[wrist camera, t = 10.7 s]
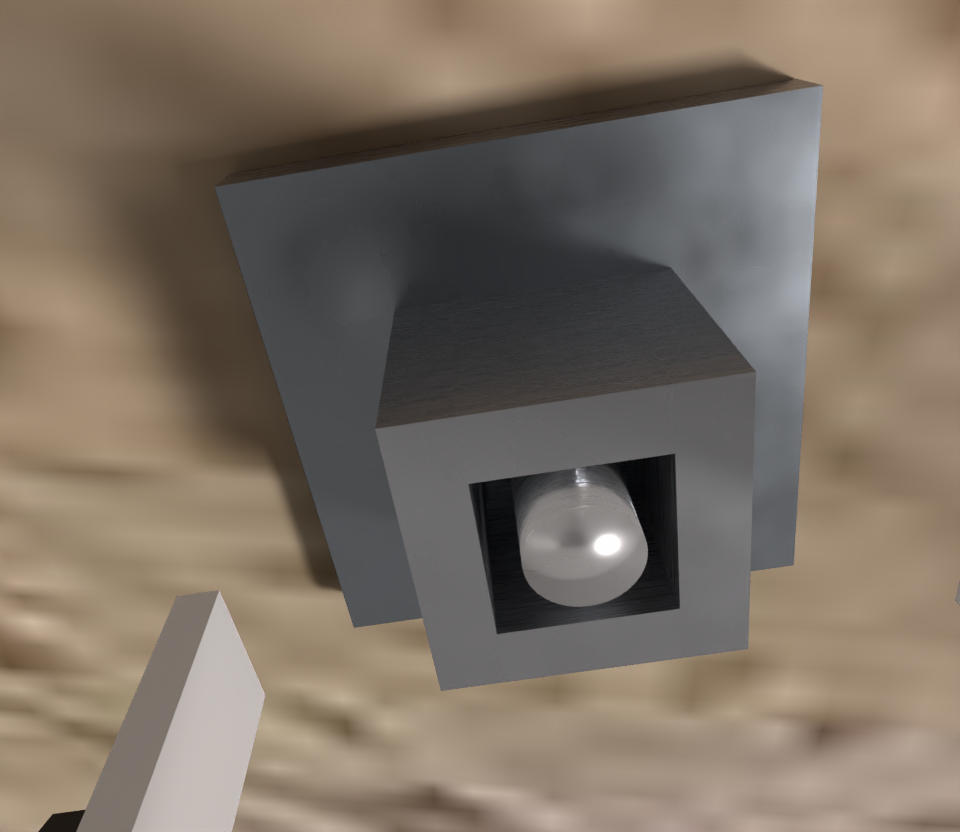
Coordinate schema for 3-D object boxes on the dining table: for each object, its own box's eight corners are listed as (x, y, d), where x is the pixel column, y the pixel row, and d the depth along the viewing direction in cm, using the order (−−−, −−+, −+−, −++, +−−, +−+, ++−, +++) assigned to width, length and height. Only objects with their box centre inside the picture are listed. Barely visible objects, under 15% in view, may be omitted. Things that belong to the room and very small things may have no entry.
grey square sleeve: (394, 310, 19) (375, 429, 14) (671, 267, 19) (756, 371, 14) (442, 529, 23) (441, 691, 17) (677, 495, 22) (747, 648, 17)
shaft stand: (230, 173, 19) (104, 278, 12) (796, 78, 18) (1010, 131, 11) (358, 595, 26) (325, 819, 19) (775, 535, 25) (901, 743, 18)
